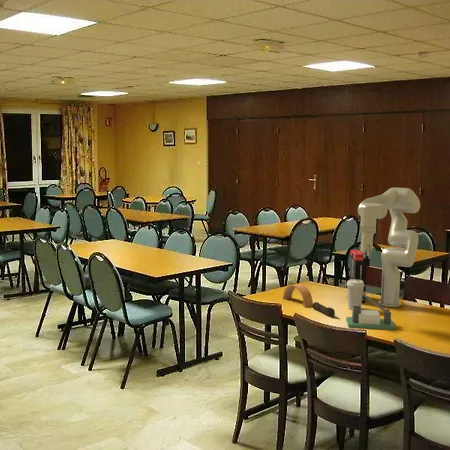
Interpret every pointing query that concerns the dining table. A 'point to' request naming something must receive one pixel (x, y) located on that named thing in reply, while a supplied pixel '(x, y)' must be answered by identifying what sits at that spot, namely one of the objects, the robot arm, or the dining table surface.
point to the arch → (302, 289)
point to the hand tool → (324, 309)
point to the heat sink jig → (369, 319)
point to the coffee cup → (355, 293)
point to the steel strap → (373, 302)
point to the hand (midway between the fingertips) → (366, 266)
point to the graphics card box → (357, 268)
